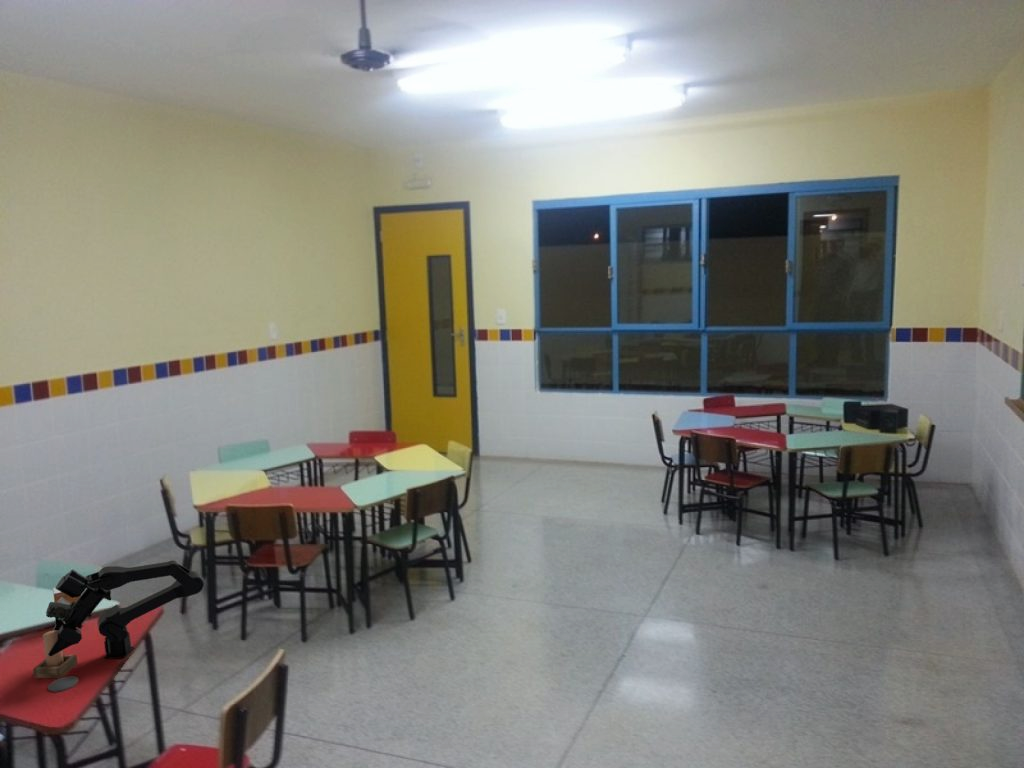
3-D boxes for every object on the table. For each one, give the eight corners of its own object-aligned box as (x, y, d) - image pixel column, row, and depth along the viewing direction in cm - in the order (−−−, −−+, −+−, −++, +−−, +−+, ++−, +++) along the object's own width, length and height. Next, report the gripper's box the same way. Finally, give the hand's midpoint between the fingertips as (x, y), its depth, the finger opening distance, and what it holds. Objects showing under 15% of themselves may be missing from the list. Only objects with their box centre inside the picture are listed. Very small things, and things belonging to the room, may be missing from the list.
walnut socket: (77, 663, 233) (76, 654, 233) (60, 677, 225) (59, 668, 225) (52, 664, 234) (50, 654, 233) (34, 678, 226) (33, 668, 225)
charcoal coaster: (83, 677, 225) (83, 676, 225) (68, 691, 217) (67, 690, 217) (59, 677, 225) (59, 676, 225) (42, 691, 218) (42, 690, 218)
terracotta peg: (67, 666, 232) (62, 630, 230) (58, 674, 227) (53, 637, 226) (54, 667, 232) (48, 630, 230) (44, 674, 228) (39, 637, 226)
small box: (58, 630, 257) (53, 593, 255) (57, 623, 262) (52, 587, 261) (85, 623, 262) (80, 587, 260) (83, 616, 267) (79, 581, 265)
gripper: (60, 582, 236) (23, 625, 232) (63, 602, 221) (24, 649, 216) (91, 599, 241) (56, 642, 237) (97, 620, 226) (59, 666, 222)
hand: (48, 649), depth 228 cm, fingers open, 9 cm apart
